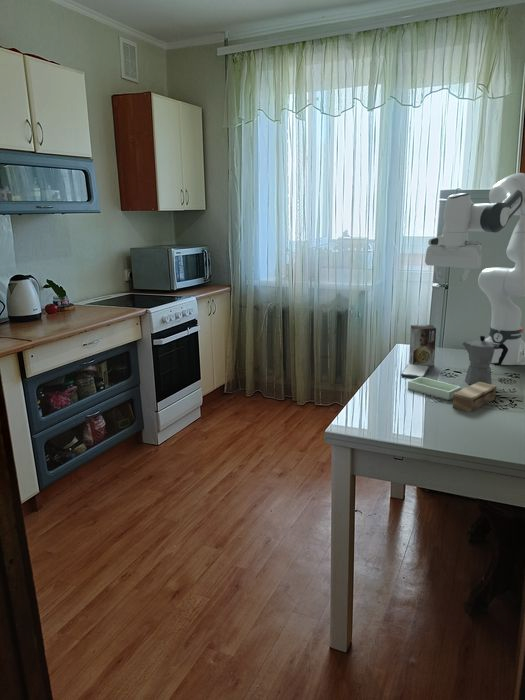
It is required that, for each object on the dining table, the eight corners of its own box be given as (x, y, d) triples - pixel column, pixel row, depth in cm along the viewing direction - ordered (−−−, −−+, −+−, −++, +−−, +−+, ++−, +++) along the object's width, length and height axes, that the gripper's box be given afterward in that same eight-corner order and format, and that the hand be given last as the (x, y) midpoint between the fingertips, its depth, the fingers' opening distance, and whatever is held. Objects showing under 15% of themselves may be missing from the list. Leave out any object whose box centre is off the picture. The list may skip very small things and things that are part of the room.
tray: (419, 384, 190) (420, 376, 189) (460, 394, 178) (461, 386, 177) (407, 389, 184) (408, 381, 184) (448, 400, 173) (449, 392, 172)
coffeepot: (458, 384, 188) (462, 337, 183) (459, 377, 196) (463, 331, 192) (504, 389, 182) (509, 340, 177) (504, 381, 190) (509, 334, 186)
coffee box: (429, 361, 217) (432, 324, 213) (434, 366, 211) (437, 327, 207) (408, 361, 217) (410, 324, 213) (412, 366, 211) (414, 328, 207)
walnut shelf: (477, 394, 178) (479, 381, 177) (494, 399, 173) (496, 385, 172) (452, 407, 167) (453, 393, 166) (470, 412, 163) (471, 398, 161)
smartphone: (407, 367, 212) (400, 377, 198) (407, 363, 212) (400, 373, 198) (429, 369, 208) (423, 380, 194) (430, 366, 208) (424, 376, 194)
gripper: (487, 241, 176) (482, 281, 179) (433, 239, 191) (430, 276, 194) (478, 241, 172) (474, 282, 175) (424, 240, 187) (421, 277, 190)
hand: (450, 279), depth 185 cm, fingers open, 8 cm apart
